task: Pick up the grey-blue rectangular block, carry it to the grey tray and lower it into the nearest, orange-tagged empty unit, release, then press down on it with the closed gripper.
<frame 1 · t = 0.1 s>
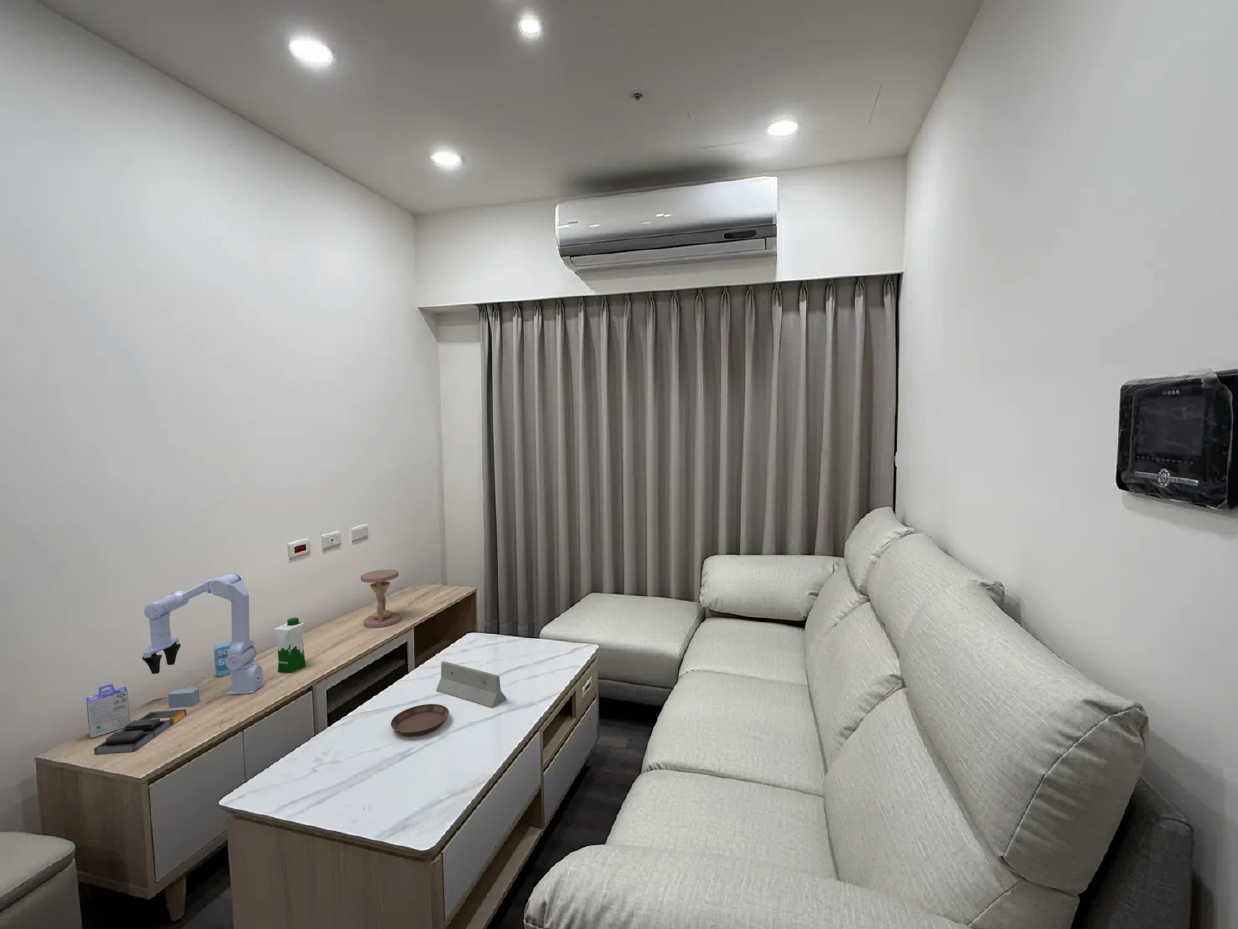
hand: (163, 669, 202), 10 cm above the table, fingers open, 7 cm apart
hourglass: (382, 622, 277), on the table
grey tray: (143, 733, 176), on the table
data package: (234, 672, 222), on the table
grey-blue rectangular block: (184, 704, 195), on the table
barrier: (470, 696, 195), on the table
plant saucer: (420, 726, 175), on the table
milk carton: (291, 669, 223), on the table
ink cartridge box: (110, 730, 179), on the table
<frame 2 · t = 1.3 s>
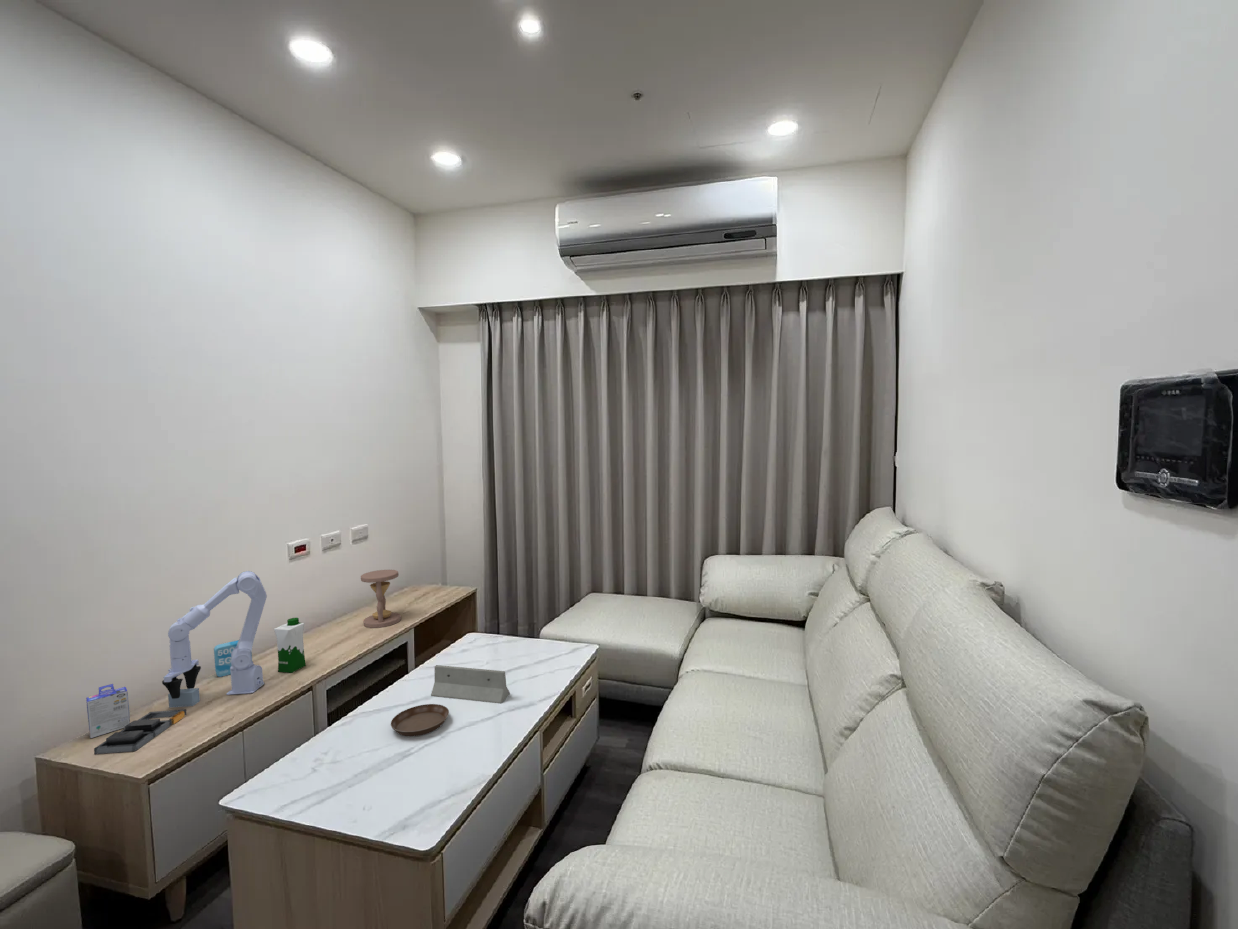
hand: (183, 693, 195), 4 cm above the table, fingers open, 7 cm apart
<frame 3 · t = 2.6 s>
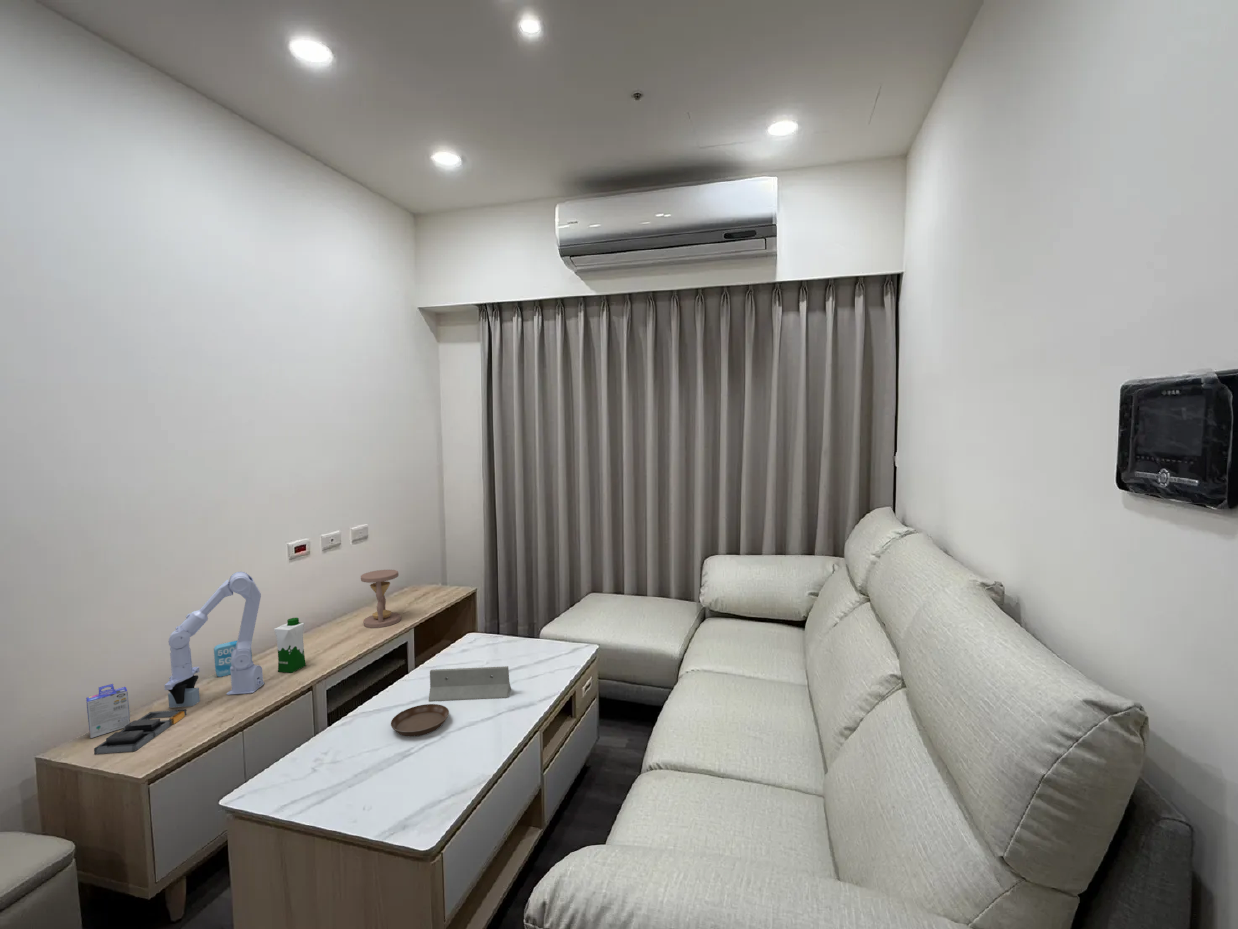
hand: (184, 700, 195), 1 cm above the table, fingers closed on grey-blue rectangular block, 4 cm apart
grey-blue rectangular block: (184, 704, 195), on the table, touching gripper
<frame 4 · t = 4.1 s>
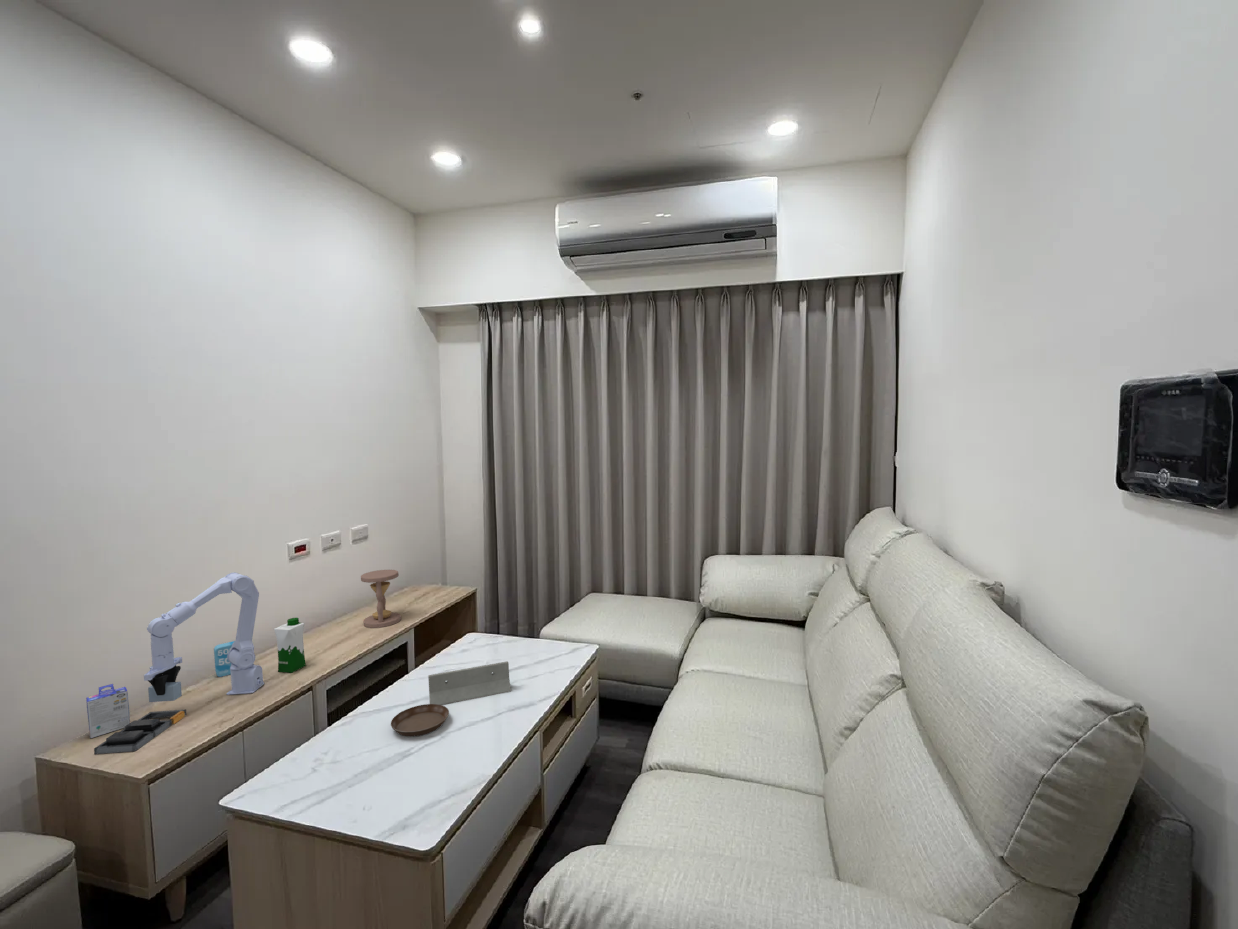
hand: (165, 692, 186), 9 cm above the table, fingers closed on grey-blue rectangular block, 4 cm apart
grey-blue rectangular block: (165, 698, 186), point 6 cm above the table, touching gripper
when the fingers open (3 cm above the table, at t = 5.9 s): grey-blue rectangular block stays where it is, resting in grey tray.
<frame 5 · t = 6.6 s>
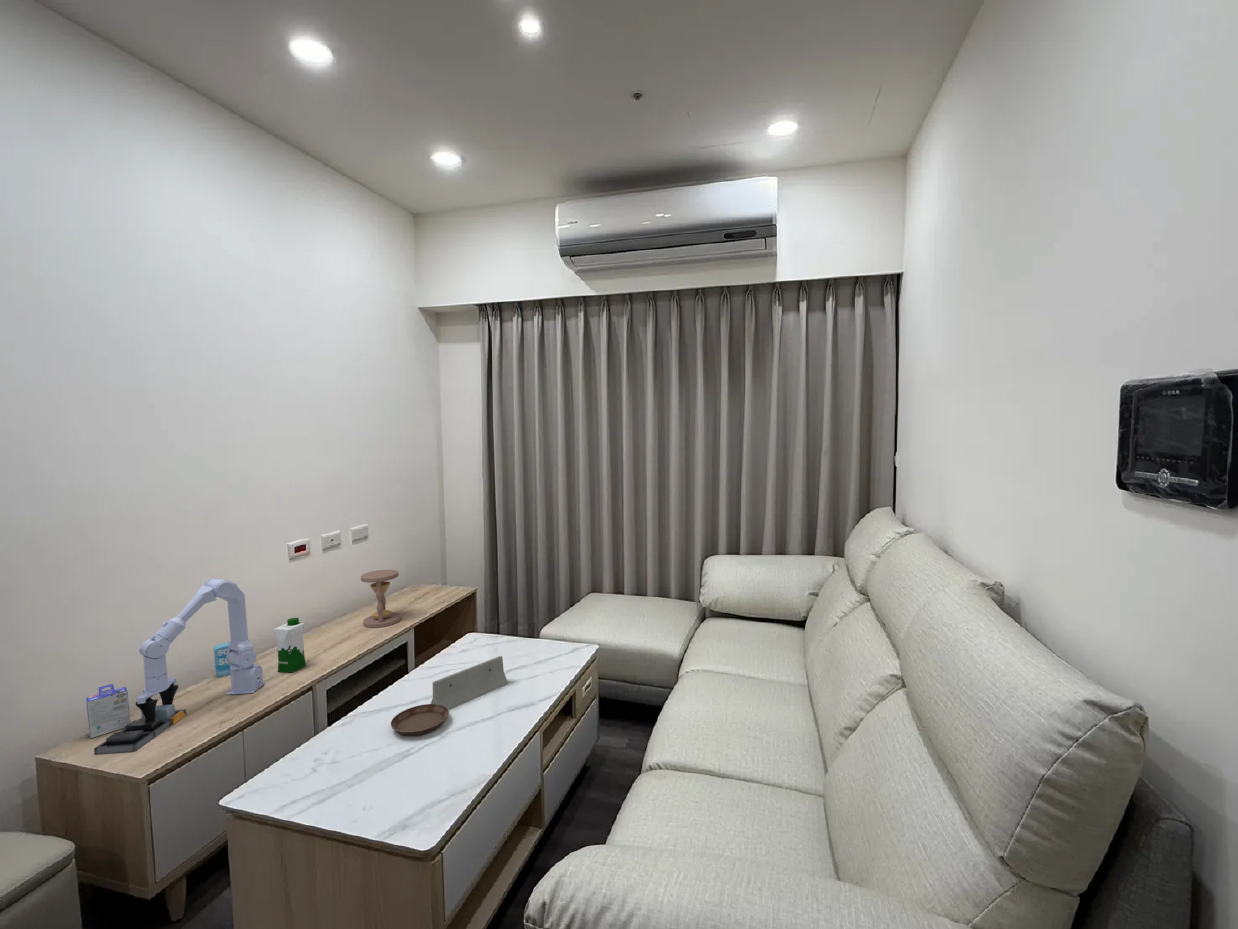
hand: (159, 714, 183), 3 cm above the table, fingers open, 7 cm apart
grey-blue rectangular block: (159, 722, 183), resting in grey tray
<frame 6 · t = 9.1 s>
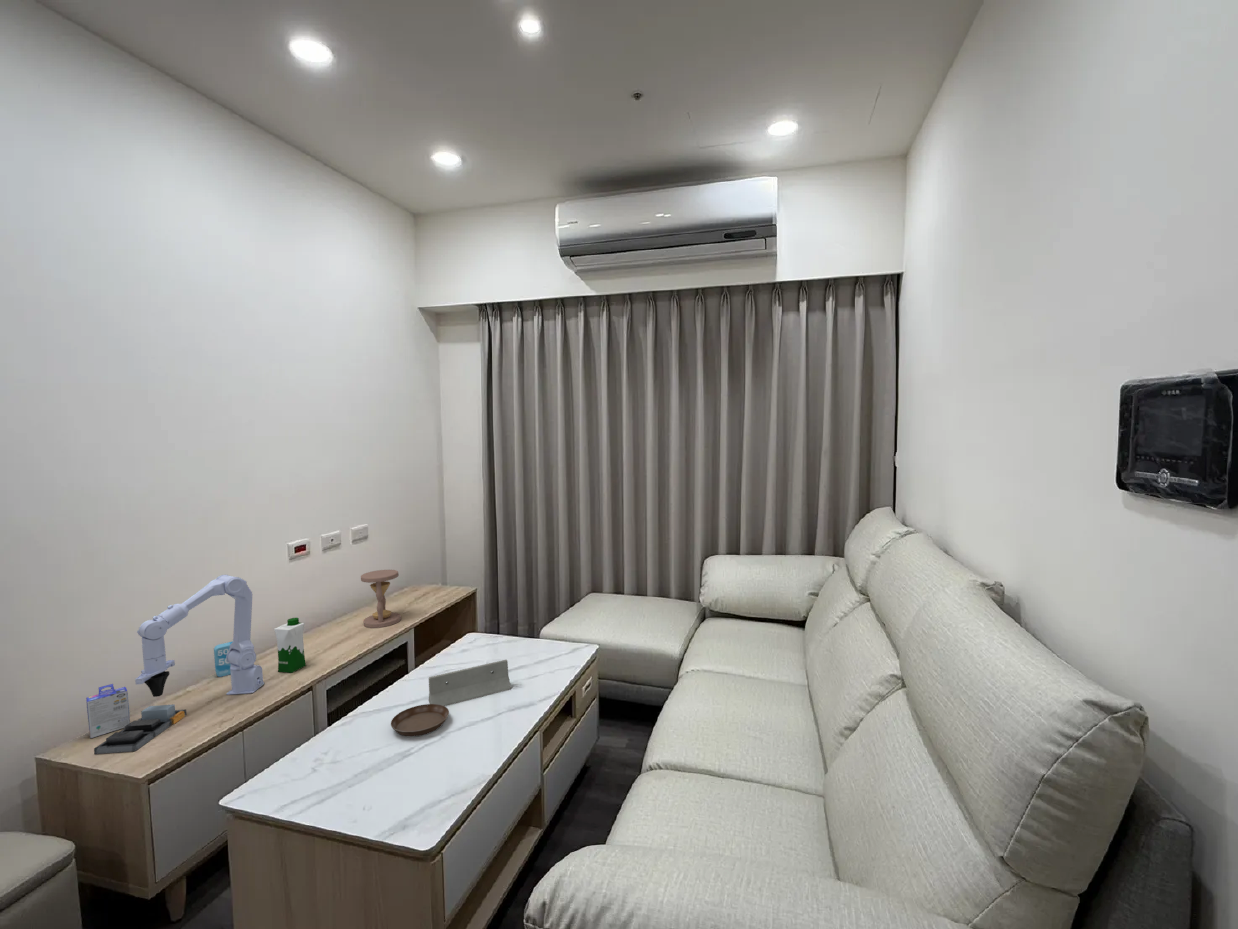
hand: (157, 695, 182), 9 cm above the table, fingers closed
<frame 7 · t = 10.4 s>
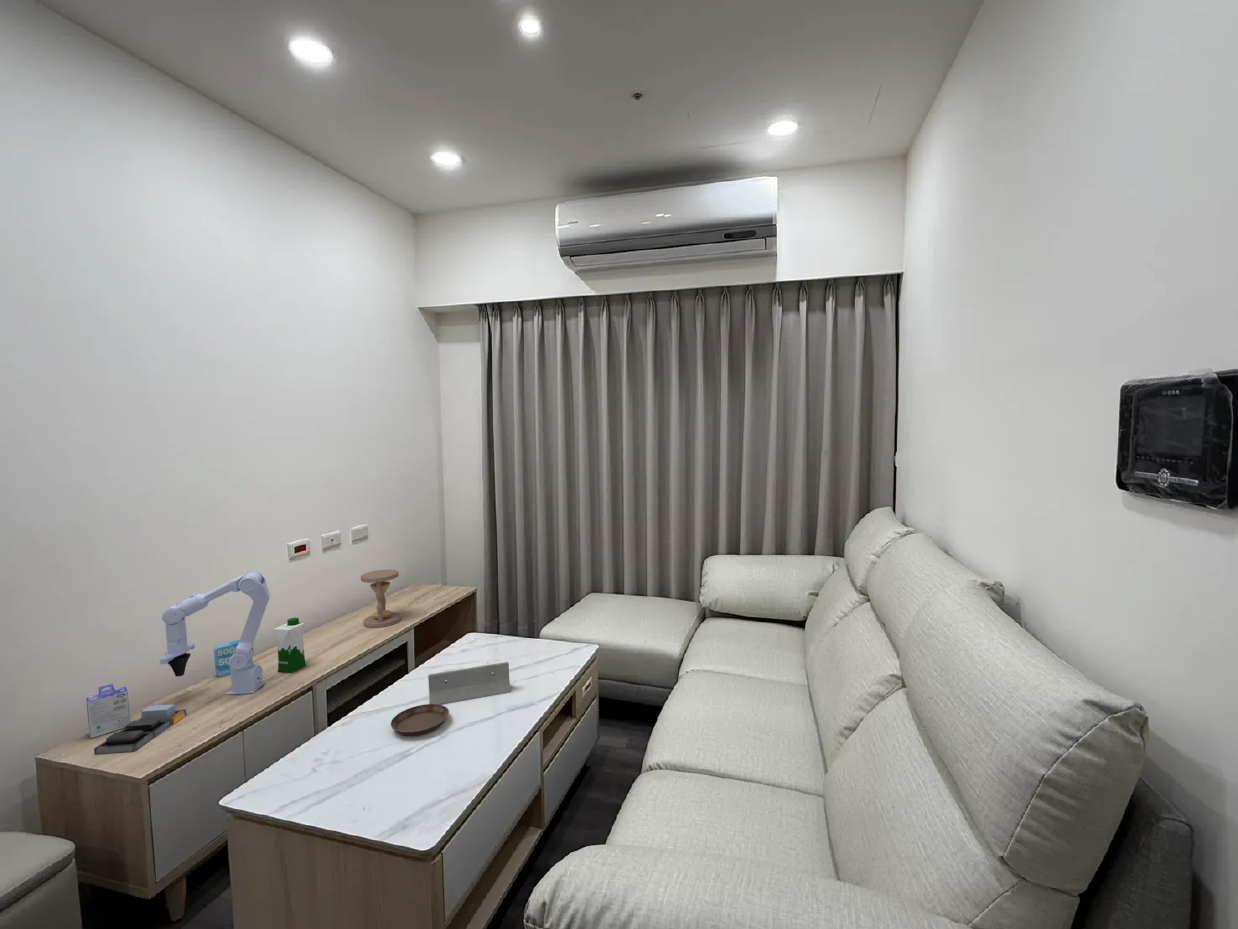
hand: (179, 675, 197), 9 cm above the table, fingers closed
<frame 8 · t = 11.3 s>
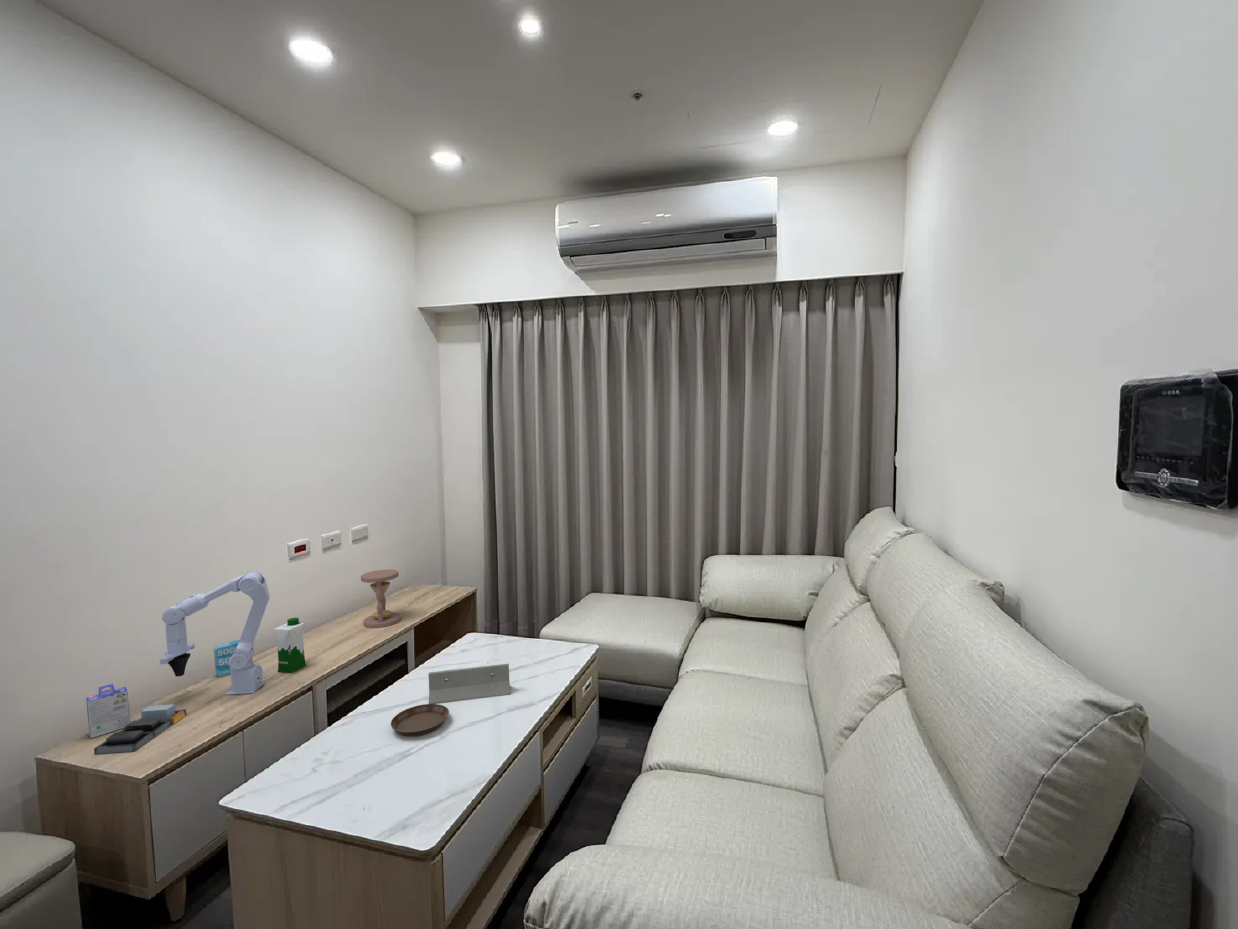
hand: (179, 675, 197), 9 cm above the table, fingers closed
at the end: grey-blue rectangular block 0.2 cm from the target spot on the grey tray, point 0.0 cm above the grey tray's base; grey-blue rectangular block tilted 0°; the gripper is holding nothing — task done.
